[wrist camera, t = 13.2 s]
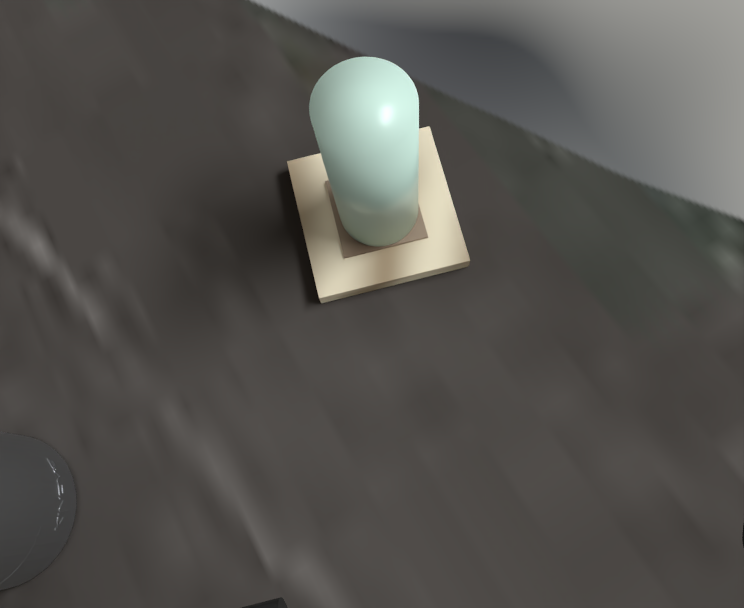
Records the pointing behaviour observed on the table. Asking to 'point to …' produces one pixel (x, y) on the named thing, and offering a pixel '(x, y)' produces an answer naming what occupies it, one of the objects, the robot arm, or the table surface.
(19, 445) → the robot arm
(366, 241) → the tube
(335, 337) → the table surface
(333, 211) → the board
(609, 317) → the table surface
